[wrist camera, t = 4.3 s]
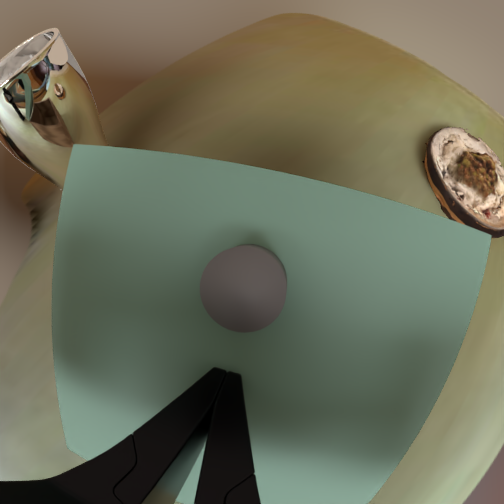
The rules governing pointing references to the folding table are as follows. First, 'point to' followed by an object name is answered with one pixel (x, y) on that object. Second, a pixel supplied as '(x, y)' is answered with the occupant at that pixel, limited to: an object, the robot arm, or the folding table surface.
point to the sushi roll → (466, 180)
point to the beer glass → (46, 106)
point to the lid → (256, 312)
